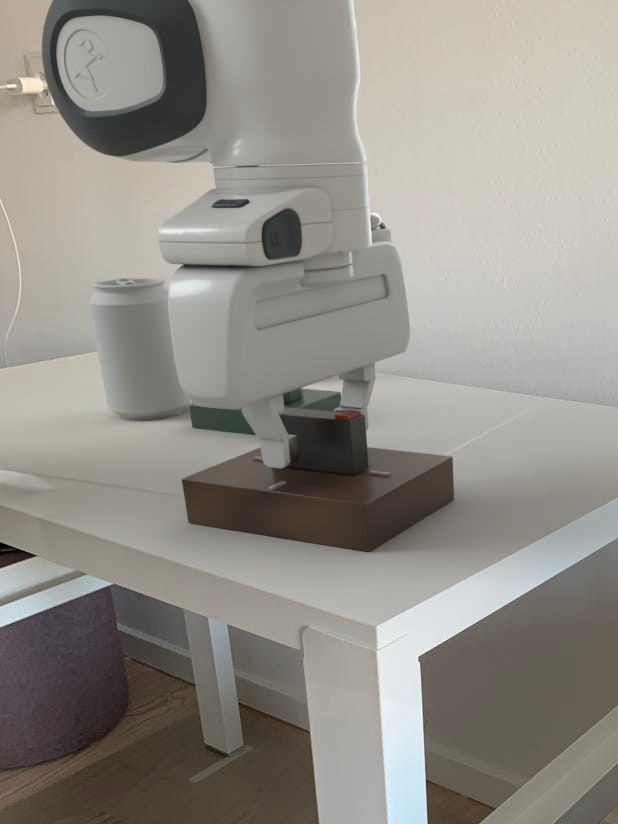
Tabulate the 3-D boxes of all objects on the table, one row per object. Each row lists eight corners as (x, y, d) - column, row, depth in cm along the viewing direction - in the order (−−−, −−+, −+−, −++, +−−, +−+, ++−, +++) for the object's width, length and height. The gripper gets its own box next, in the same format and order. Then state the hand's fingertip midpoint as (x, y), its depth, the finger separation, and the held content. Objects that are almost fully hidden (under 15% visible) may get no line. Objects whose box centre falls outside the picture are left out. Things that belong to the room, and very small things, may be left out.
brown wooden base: (188, 522, 66) (180, 476, 64) (288, 477, 75) (283, 435, 73) (369, 552, 60) (365, 501, 59) (454, 499, 69) (452, 453, 67)
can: (130, 427, 90) (104, 286, 85) (97, 413, 95) (71, 280, 90) (206, 412, 94) (186, 278, 89) (170, 400, 100) (149, 272, 94)
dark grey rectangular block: (271, 465, 67) (264, 408, 65) (287, 458, 68) (281, 402, 66) (354, 475, 64) (349, 416, 62) (369, 467, 65) (364, 410, 64)
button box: (192, 429, 89) (185, 383, 87) (255, 407, 96) (250, 364, 94) (284, 439, 85) (278, 391, 83) (343, 415, 92) (339, 371, 90)
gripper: (347, 209, 69) (363, 410, 75) (133, 232, 53) (175, 486, 59) (427, 209, 66) (437, 416, 72) (229, 233, 50) (262, 498, 56)
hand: (318, 448), depth 65 cm, fingers open, 7 cm apart
